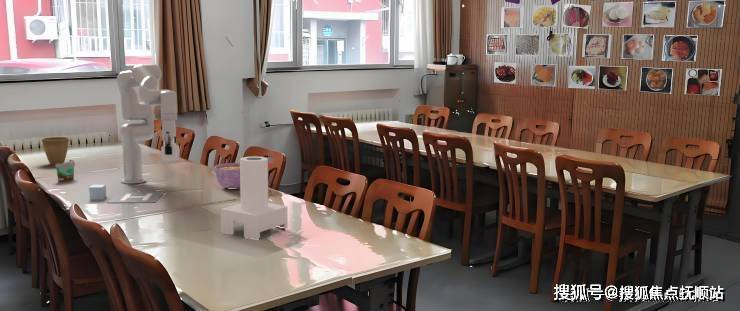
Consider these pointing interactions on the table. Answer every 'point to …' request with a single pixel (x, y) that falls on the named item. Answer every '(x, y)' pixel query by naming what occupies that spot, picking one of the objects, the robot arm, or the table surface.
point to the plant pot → (55, 149)
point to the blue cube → (97, 191)
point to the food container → (65, 171)
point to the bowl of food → (228, 175)
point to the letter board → (136, 197)
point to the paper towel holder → (253, 201)
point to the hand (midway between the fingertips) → (170, 153)
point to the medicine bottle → (175, 152)
